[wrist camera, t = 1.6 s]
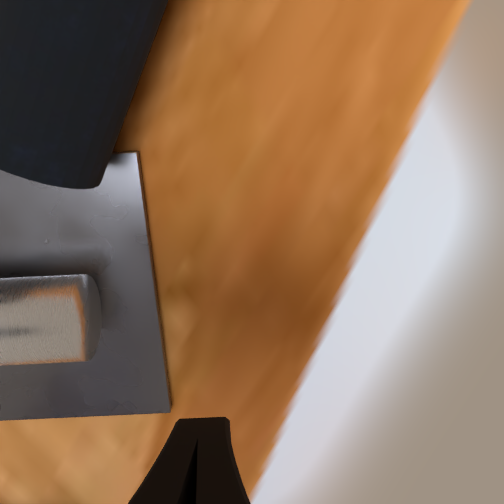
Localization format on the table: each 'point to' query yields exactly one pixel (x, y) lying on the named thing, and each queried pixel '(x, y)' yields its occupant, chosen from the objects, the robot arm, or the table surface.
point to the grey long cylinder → (49, 319)
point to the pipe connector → (69, 83)
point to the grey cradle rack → (109, 286)
